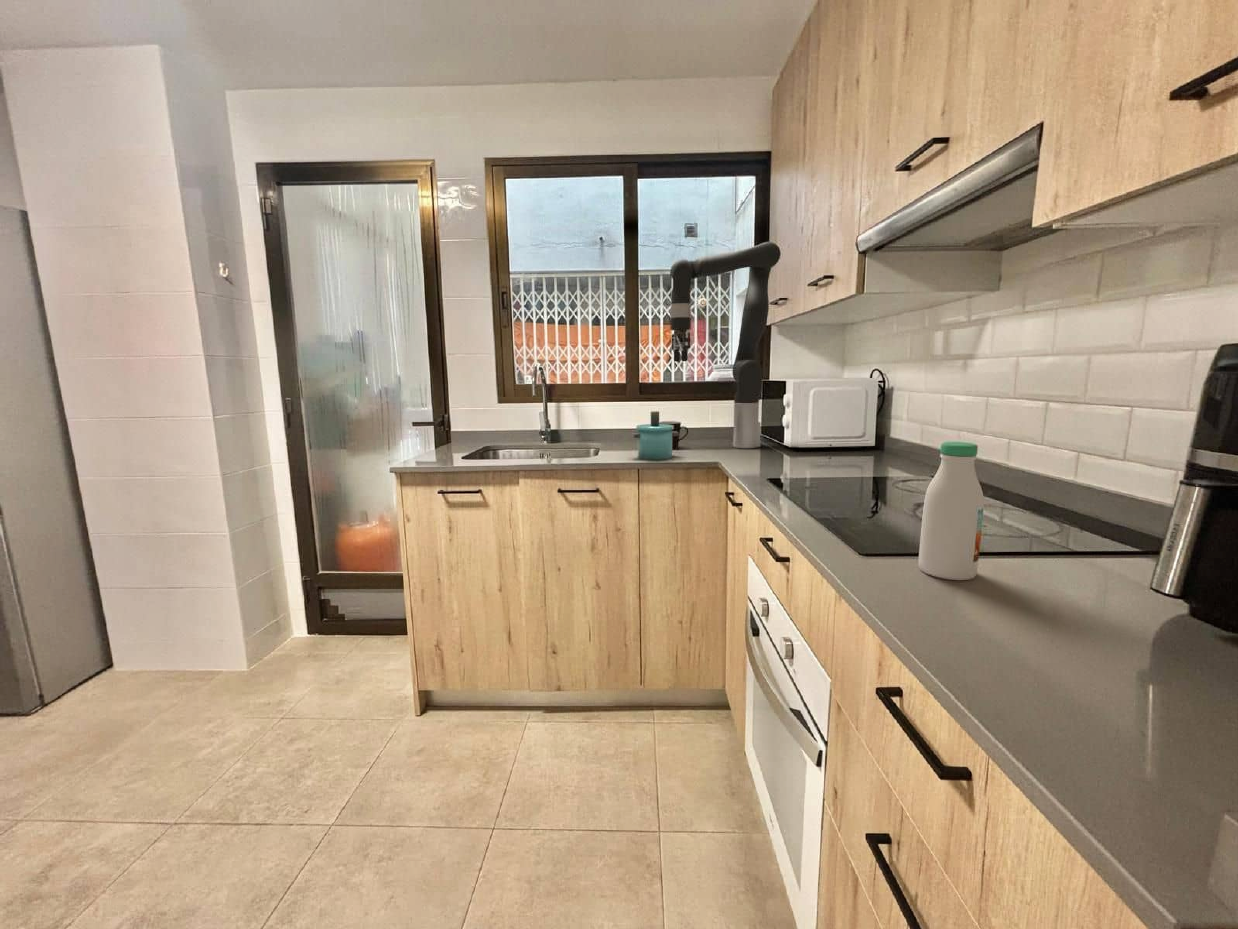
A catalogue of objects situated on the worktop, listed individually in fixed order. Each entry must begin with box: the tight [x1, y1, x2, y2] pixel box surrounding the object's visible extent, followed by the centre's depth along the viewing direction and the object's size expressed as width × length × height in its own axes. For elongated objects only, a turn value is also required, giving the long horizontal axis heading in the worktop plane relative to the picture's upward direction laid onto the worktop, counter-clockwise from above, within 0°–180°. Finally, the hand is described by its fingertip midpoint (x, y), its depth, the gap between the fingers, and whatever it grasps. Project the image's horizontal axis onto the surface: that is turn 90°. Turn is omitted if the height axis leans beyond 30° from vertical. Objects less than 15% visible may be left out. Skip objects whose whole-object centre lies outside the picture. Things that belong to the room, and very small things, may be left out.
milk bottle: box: [918, 441, 985, 581], centre depth 81 cm, size 8×8×20 cm
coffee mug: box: [659, 420, 689, 450], centre depth 207 cm, size 12×9×10 cm
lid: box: [635, 410, 674, 431], centre depth 186 cm, size 13×13×6 cm
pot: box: [630, 430, 680, 461], centre depth 188 cm, size 16×12×10 cm
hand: (680, 361), depth 201 cm, fingers open, 8 cm apart
